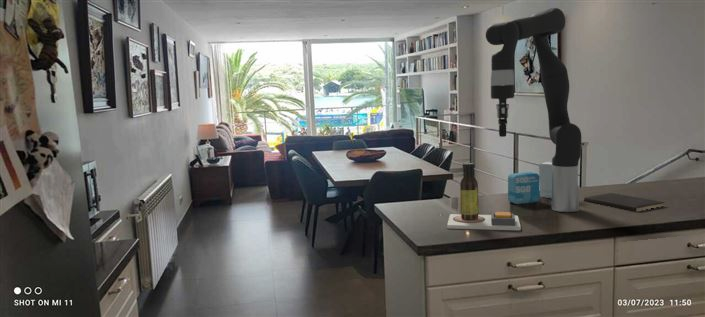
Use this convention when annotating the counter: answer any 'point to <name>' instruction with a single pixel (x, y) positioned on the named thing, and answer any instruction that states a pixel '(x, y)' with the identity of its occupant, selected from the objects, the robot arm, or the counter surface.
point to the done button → (502, 215)
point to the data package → (523, 188)
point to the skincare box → (545, 179)
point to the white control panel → (484, 222)
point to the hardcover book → (623, 202)
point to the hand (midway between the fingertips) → (502, 135)
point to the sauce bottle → (469, 193)
